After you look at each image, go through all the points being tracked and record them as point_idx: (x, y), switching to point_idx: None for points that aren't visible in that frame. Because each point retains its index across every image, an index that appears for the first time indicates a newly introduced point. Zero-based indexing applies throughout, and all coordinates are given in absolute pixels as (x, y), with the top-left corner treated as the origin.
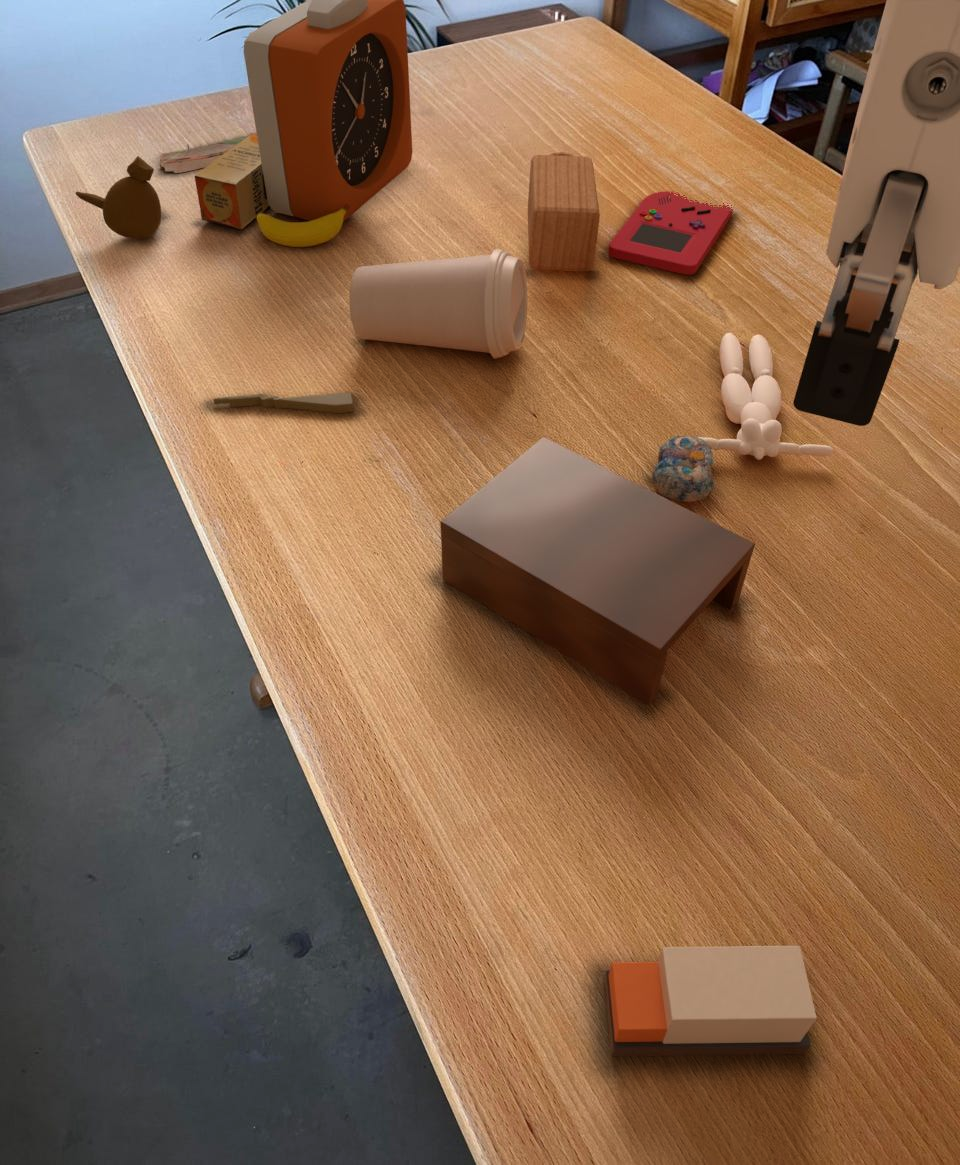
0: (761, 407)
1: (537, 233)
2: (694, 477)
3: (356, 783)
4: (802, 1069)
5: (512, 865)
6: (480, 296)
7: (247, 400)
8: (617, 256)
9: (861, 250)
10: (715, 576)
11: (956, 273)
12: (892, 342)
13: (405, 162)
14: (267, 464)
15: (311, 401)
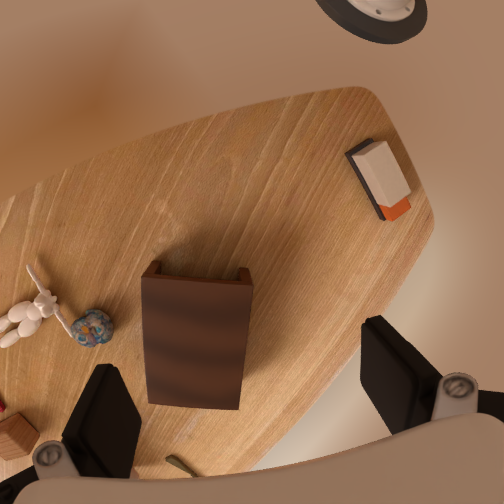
0: (30, 313)
1: (32, 445)
2: (99, 323)
3: (350, 344)
4: (372, 138)
5: (356, 275)
6: None
7: None
8: (3, 405)
9: (127, 457)
10: (181, 285)
11: (499, 423)
12: (475, 380)
13: None
14: (223, 459)
15: (183, 467)
